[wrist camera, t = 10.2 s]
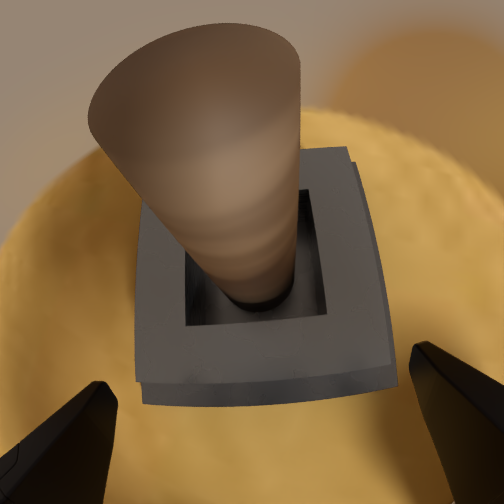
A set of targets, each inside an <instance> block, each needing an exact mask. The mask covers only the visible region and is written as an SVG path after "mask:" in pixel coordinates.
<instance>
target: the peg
mask: <svg viewBox="0 0 504 504" xmlns="http://www.w3.org/2000/svg"><path fill="white" fill-rule="evenodd" d="M88 125H89V128H90V132H91V133H92V135H93V137H94V138H95V140H96V141H97V142H98V144H99V145H100V146H101V148H102V149H103V150H104V151H105V153H106V154H107V155H108V157H109V158H110V159H111V160H112V162H113V163H114V164H115V166H116V167H117V168H118V169H119V171H120V172H121V173H122V174H123V176H124V177H125V178H126V179H127V181H128V182H129V183H130V184H131V186H132V187H133V188H134V189H135V191H136V192H137V193H138V194H139V195H140V197H141V198H142V199H143V200H144V202H145V203H146V204H147V205H148V206H149V208H150V209H151V210H152V211H153V212H154V214H155V215H156V216H157V217H158V218H159V220H160V221H161V222H162V223H163V224H164V226H165V227H166V228H167V229H168V230H169V232H170V233H171V234H172V235H173V236H174V237H175V239H176V240H177V241H178V242H179V243H180V244H181V246H182V247H183V248H184V249H185V250H186V251H187V253H188V254H189V255H190V256H191V257H192V258H193V259H194V261H195V262H196V263H197V264H198V265H199V266H200V267H201V269H202V270H203V271H204V272H205V273H206V274H207V275H208V277H209V278H210V279H211V280H212V281H213V282H214V283H215V284H216V285H217V287H218V288H219V289H220V290H221V291H222V292H223V293H224V294H225V295H226V297H227V298H228V299H229V300H230V301H231V302H232V303H233V304H234V305H236V306H237V307H239V308H241V309H243V310H245V311H249V312H265V311H269V310H272V309H274V308H276V307H277V306H279V305H280V304H281V303H283V302H284V301H285V299H286V298H287V297H288V296H289V294H290V292H291V290H292V287H293V284H294V275H295V259H296V241H297V221H298V197H299V166H300V60H299V56H298V54H297V52H296V50H295V48H294V47H293V46H292V45H291V44H290V43H289V42H288V41H287V40H286V39H284V38H283V37H282V36H280V35H278V34H276V33H274V32H272V31H270V30H267V29H264V28H261V27H257V26H252V25H247V24H237V23H219V24H208V25H202V26H196V27H192V28H187V29H184V30H180V31H177V32H174V33H171V34H169V35H166V36H163V37H161V38H159V39H157V40H155V41H153V42H150V43H149V44H147V45H145V46H143V47H142V48H140V49H138V50H137V51H135V52H134V53H132V54H131V55H129V56H128V57H127V58H125V59H124V60H123V61H122V62H120V63H119V64H118V65H117V66H116V67H115V68H114V69H113V70H112V71H111V72H110V73H109V74H108V75H107V76H106V78H105V79H104V80H103V81H102V83H101V84H100V86H99V87H98V89H97V90H96V92H95V94H94V96H93V98H92V100H91V103H90V107H89V111H88Z"/></svg>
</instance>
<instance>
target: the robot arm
mask: <svg viewBox="0 0 504 504" xmlns="http://www.w3.org/2000/svg"><path fill="white" fill-rule="evenodd" d="M409 371H410V375H411V378H412V381H413V384H414V388H415V391H416V394H417V398H418V401H419V405H420V408H421V411H422V414H423V417H424V420H425V422H426V425H427V427H428V430H429V432H430V435H431V437H432V440H433V442H434V445H435V447H436V450H437V453H438V455H439V458H440V461H441V463H442V466H443V469H444V472H445V475H446V477H447V480H448V483H449V486H450V489H451V492H452V495H453V499H454V502H455V504H504V385H502V384H501V383H499V382H497V381H496V380H494V379H492V378H490V377H489V376H487V375H485V374H484V373H482V372H480V371H478V370H477V369H475V368H473V367H472V366H470V365H468V364H467V363H465V362H463V361H461V360H460V359H458V358H456V357H455V356H453V355H451V354H449V353H448V352H446V351H444V350H442V349H441V348H439V347H437V346H436V345H434V344H432V343H430V342H428V341H423V342H419V343H416V344H414V346H413V348H412V353H411V357H410V362H409ZM117 409H118V401H117V398H116V396H115V395H114V393H113V392H112V390H111V389H110V387H109V386H108V384H107V383H106V382H104V381H93V382H91V383H90V384H89V385H88V386H87V387H85V388H84V389H83V390H82V391H81V392H79V393H78V394H77V395H76V396H75V397H73V398H72V399H71V400H70V401H68V402H67V403H66V404H65V405H64V406H62V407H61V408H60V409H59V410H58V411H56V412H55V413H54V414H53V415H52V416H50V417H49V418H48V419H47V420H46V421H44V422H43V423H42V424H41V425H40V426H38V427H37V428H36V429H35V430H34V431H32V432H31V433H30V434H29V435H28V436H26V437H25V438H24V439H23V440H22V441H20V443H18V444H17V445H16V446H14V447H13V448H12V449H11V450H9V451H8V452H7V453H6V454H4V455H3V456H2V457H0V504H103V500H104V493H105V487H106V482H107V476H108V471H109V465H110V460H111V455H112V450H113V444H114V436H115V426H116V417H117Z"/></svg>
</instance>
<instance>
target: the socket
mask: <svg viewBox="0 0 504 504" xmlns="http://www.w3.org/2000/svg"><path fill="white" fill-rule="evenodd" d="M135 375H136V382H141V386H142V402H143V404H150V405H165V406H189V407H234V406H259V405H274V404H287V403H297V402H307V401H315V400H323V399H330V398H337V397H344V396H350V395H356V394H362V393H367V392H372V391H377V390H382V389H387V388H392V387H396V386H398V381H397V369H396V359H395V349H394V341H393V333H392V325H391V318H390V311H389V305H388V299H387V293H386V287H385V281H384V276H383V270H382V265H381V260H380V255H379V251H378V246H377V242H376V237H375V233H374V228H373V224H372V220H371V216H370V212H369V208H368V204H367V200H366V197H365V193H364V189H363V186H362V182H361V179H360V175H359V172H358V168H357V165H356V162H351V160H350V156H349V153H348V150H347V147H346V146H345V147H327V148H312V149H300V166H299V197H298V221H297V241H296V259H295V275H294V284H293V287H292V290H291V292H290V294H289V296H288V297H287V298H286V299H285V301H284V302H283V303H281V304H280V305H279V306H277V307H276V308H274V309H272V310H269V311H265V312H249V311H245V310H243V309H241V308H239V307H237V306H236V305H234V304H233V303H232V302H231V301H230V300H229V299H228V298H227V297H226V295H225V294H224V293H223V292H222V291H221V290H220V289H219V288H218V287H217V285H216V284H215V283H214V282H213V281H212V280H211V279H210V278H209V277H208V275H207V274H206V273H205V272H204V271H203V270H202V269H201V267H200V266H199V265H198V264H197V263H196V262H195V261H194V259H193V258H192V257H191V256H190V255H189V254H188V253H187V251H186V250H185V249H184V248H183V247H182V246H181V244H180V243H179V242H178V241H177V240H176V239H175V237H174V236H173V235H172V234H171V233H170V232H169V230H168V229H167V228H166V227H165V226H164V224H163V223H162V222H161V221H160V220H159V218H158V217H157V216H156V215H155V214H154V212H153V211H152V210H151V209H150V208H149V206H148V205H147V204H146V203H145V202H144V200H143V199H142V208H141V217H140V227H139V239H138V252H137V267H136V287H135Z"/></svg>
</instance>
